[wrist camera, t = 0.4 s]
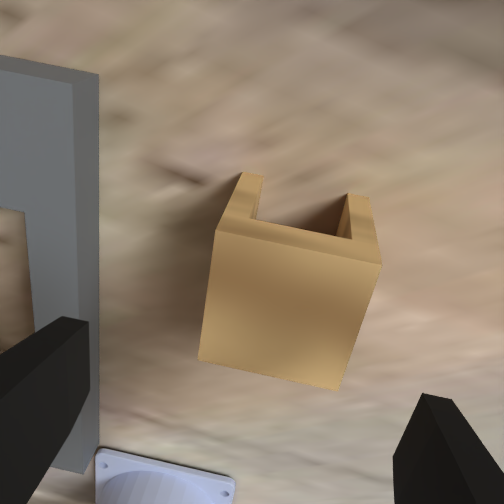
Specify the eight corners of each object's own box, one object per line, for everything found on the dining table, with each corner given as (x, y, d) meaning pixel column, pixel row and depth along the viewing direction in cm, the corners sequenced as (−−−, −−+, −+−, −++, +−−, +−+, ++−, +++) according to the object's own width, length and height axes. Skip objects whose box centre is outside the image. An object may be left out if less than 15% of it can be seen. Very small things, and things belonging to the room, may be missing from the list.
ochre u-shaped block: (335, 304, 20) (337, 391, 16) (225, 281, 20) (197, 360, 16) (368, 197, 18) (382, 265, 13) (242, 171, 18) (215, 230, 13)
